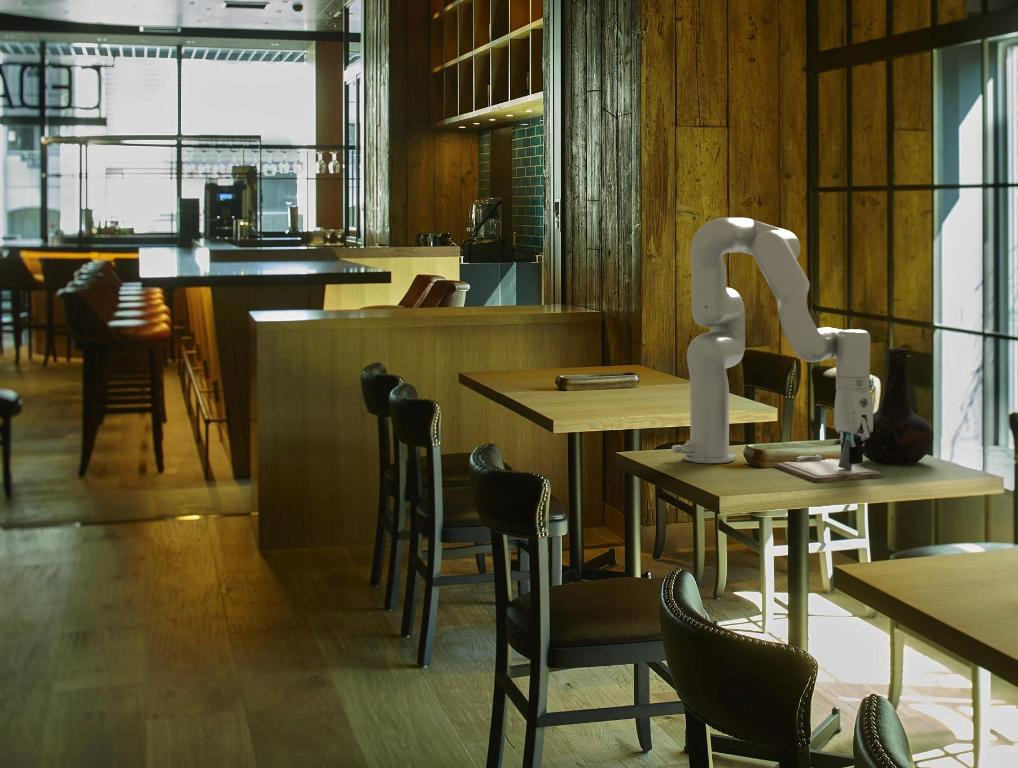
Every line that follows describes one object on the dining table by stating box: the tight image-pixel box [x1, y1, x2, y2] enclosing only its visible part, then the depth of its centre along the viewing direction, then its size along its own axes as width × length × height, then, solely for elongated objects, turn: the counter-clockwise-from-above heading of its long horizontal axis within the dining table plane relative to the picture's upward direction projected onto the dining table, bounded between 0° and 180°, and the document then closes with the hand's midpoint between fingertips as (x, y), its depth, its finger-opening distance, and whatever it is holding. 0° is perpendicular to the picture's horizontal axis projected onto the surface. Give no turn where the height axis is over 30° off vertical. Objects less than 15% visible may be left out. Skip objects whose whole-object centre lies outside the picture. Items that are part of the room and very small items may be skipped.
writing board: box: [777, 454, 883, 483], centre depth 296 cm, size 17×20×2 cm
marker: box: [838, 433, 858, 470], centre depth 292 cm, size 3×3×8 cm
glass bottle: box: [858, 347, 934, 466], centre depth 305 cm, size 18×18×28 cm
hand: (851, 461), depth 292 cm, fingers closed on marker, 2 cm apart
